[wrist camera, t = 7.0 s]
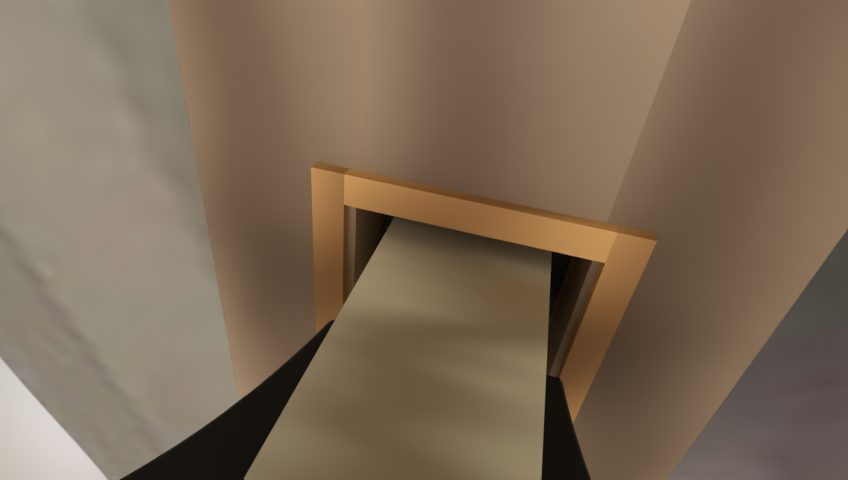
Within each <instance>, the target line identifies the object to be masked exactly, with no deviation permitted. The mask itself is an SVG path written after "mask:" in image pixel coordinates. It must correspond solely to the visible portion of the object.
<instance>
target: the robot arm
mask: <svg viewBox="0 0 848 480" xmlns="http://www.w3.org/2000/svg"><path fill="white" fill-rule="evenodd" d="M334 321H335V320H331V321H330V322H328V323H327V324H326V325H325V326H324V327H323V328H322V329H321V330H320V331H319V332H318V333H317V334H316V335H315V336H314V337H313V338H312V339H311V340H310V341H309V342H307V343H306V344H305V345H304V346H303V347H302V348H301V349H300V350H299V351H298V352H297V353H296V354H294V355H293V356H292V357H291V358H290V359H289V360H288V361H287V362H285V363H284V364H283V365H282V366H281V367H280V368H278V369H277V370H276V371H275V372H274V373H273V374H271V375H270V376H269V377H268V378H267V379H266V380H264V381H263V382H262V383H261V384H260V385H258V386H257V387H256V388H255V389H253V390H252V391H251V392H250V393H248V394H247V395H246V396H245V397H243V398H242V399H241V400H239V401H238V402H237V403H236V404H234V405H233V406H232V407H230V408H229V409H228V410H227V411H225V412H224V413H222V414H221V415H220V416H218V417H217V418H216V419H214V420H213V421H211V422H210V423H209V424H207V425H206V426H204V427H203V428H202V429H200V430H199V431H197V432H196V433H194V434H193V435H191V436H190V437H188V438H187V439H185V440H184V441H182V442H181V443H179V444H178V445H176V446H175V447H173V448H171V449H170V450H168V451H166V452H165V453H163V454H162V455H160V456H158V457H157V458H155V459H154V460H152V461H150V462H149V463H147V464H146V465H144V466H142V467H141V468H139V469H137V470H135V471H134V472H132V473H130V474H129V475H127V476H125V477H123V478H122V479H120V480H244V477H245V476H246V474H247V472H248V471H249V469H250V467H251V465H252V464H253V462H254V460H255V458H256V457H257V455H258V453H259V451H260V450H261V448H262V446H263V444H264V443H265V441H266V439H267V438H268V436H269V434H270V432H271V431H272V429H273V427H274V425H275V424H276V422H277V420H278V418H279V417H280V415H281V413H282V411H283V410H284V408H285V406H286V405H287V403H288V401H289V399H290V398H291V396H292V394H293V392H294V391H295V389H296V387H297V385H298V384H299V382H300V380H301V378H302V377H303V375H304V373H305V371H306V370H307V368H308V366H309V365H310V363H311V361H312V359H313V358H314V356H315V354H316V352H317V351H318V349H319V347H320V345H321V344H322V342H323V340H324V338H325V337H326V335H327V333H328V332H329V330H330V328H331V326H332V325H333V323H334ZM541 480H591V478H590V475H589V472H588V469H587V466H586V464H585V461H584V458H583V455H582V452H581V449H580V446H579V443H578V440H577V436H576V433H575V430H574V426H573V423H572V419H571V416H570V412H569V408H568V404H567V400H566V396H565V391H564V386H563V382H562V381H561V380H560V378H558V377H554V376H550V375H546V389H545V411H544V432H543V454H542V476H541Z"/></svg>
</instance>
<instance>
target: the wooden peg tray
mask: <svg viewBox="0 0 848 480" xmlns="http://www.w3.org/2000/svg"><path fill="white" fill-rule="evenodd" d="M168 2H169V8H170V13H171V19H172V25H173V31H174V36H175V42H176V48H177V53H178V59H179V65H180V70H181V76H182V82H183V87H184V93H185V99H186V104H187V110H188V116H189V121H190V127H191V133H192V138H193V144H194V150H195V155H196V161H197V167H198V173H199V178H200V184H201V190H202V195H203V201H204V207H205V212H206V218H207V224H208V229H209V235H210V241H211V246H212V252H213V258H214V263H215V269H216V275H217V280H218V286H219V292H220V297H221V303H222V309H223V315H224V320H225V326H226V332H227V337H228V343H229V349H230V354H231V360H232V366H233V371H234V377H235V383H236V388H237V394H238V395H240V396H244V397H245V396H246V395H247V394H248V393H250V392H251V391H252V390H253V389H255V388H256V387H257V386H258V385H260V384H261V383H262V382H263V381H264V380H266V379H267V378H268V377H269V376H270V375H271V374H273V373H274V372H275V371H276V370H277V369H278V368H280V367H281V366H282V365H283V364H284V363H285V362H287V361H288V360H289V359H290V358H291V357H292V356H293V355H294V354H296V353H297V352H298V351H299V350H300V349H301V348H302V347H303V346H304V345H305V344H306V343H307V342H309V341H310V340H311V339H312V338H313V337H314V336H315V335H316V334H317V333H318V332H319V331H320V330H321V329H322V328H323V327H324V326H325V325H326V324H327V323H328V322H330V321H331V320H335V319H336V318H337V316H338V314H339V312H340V311H341V309H342V307H343V305H344V304H345V302H346V300H347V299H348V297H349V295H350V293H351V292H352V290H353V288H354V286H355V285H356V283H357V281H358V279H359V278H360V276H361V274H362V272H363V271H364V269H365V267H366V266H367V264H368V262H369V260H370V259H371V257H372V255H373V253H374V252H375V250H376V248H377V246H378V245H379V243H380V241H381V239H382V235H383V221H384V214H386V215H391V216H395V217H400V218H404V219H409V220H413V221H418V222H422V223H427V224H431V225H436V226H440V227H445V228H449V229H454V230H458V231H463V232H467V233H472V234H476V235H481V236H485V237H490V238H494V239H498V240H503V241H507V242H512V243H516V244H521V245H525V246H530V247H534V248H539V249H543V250H548V251H552V252H557V253H561V254H566V255H570V256H571V259H570V262H569V265H568V268H567V271H566V274H565V276H564V279H563V282H562V285H561V288H560V291H559V294H558V297H557V299H556V302H555V305H554V308H553V311H552V314H551V317H550V320H549V323H548V345H547V367H546V375H550V376H554V377H558V378H560V380H561V381H562V382H563V386H564V391H565V396H566V400H567V404H568V408H569V412H570V416H571V419H572V423H573V426H574V430H575V433H576V436H577V440H578V443H579V446H580V449H581V452H582V455H583V458H584V461H585V464H586V466H587V469H588V472H589V475H590V478H591V480H667V479H668V477H669V476H670V475H671V473H672V472H673V470H674V469H675V468H676V466H677V465H678V463H679V462H680V461H681V459H682V458H683V457H684V455H685V454H686V452H687V451H688V450H689V448H690V447H691V445H692V444H693V443H694V441H695V440H696V439H697V437H698V436H699V434H700V433H701V432H702V430H703V429H704V427H705V426H706V425H707V423H708V422H709V421H710V419H711V418H712V416H713V415H714V414H715V412H716V411H717V409H718V408H719V407H720V405H721V404H722V402H723V401H724V400H725V398H726V397H727V396H728V394H729V393H730V391H731V390H732V389H733V387H734V386H735V384H736V383H737V382H738V380H739V379H740V378H741V376H742V375H743V373H744V372H745V371H746V369H747V368H748V366H749V365H750V364H751V362H752V361H753V359H754V358H755V357H756V355H757V354H758V353H759V351H760V350H761V348H762V347H763V346H764V344H765V343H766V341H767V340H768V339H769V337H770V336H771V335H772V333H773V332H774V330H775V329H776V328H777V326H778V325H779V323H780V322H781V321H782V319H783V318H784V316H785V315H786V314H787V312H788V311H789V310H790V308H791V307H792V305H793V304H794V303H795V301H796V300H797V298H798V297H799V296H800V294H801V293H802V292H803V290H804V289H805V287H806V286H807V285H808V283H809V282H810V280H811V279H812V278H813V276H814V275H815V273H816V272H817V271H818V269H819V268H820V267H821V265H822V264H823V262H824V261H825V260H826V258H827V257H828V255H829V254H830V253H831V251H832V250H833V249H834V247H835V246H836V244H837V243H838V242H839V240H840V239H841V237H842V236H843V235H844V233H845V232H846V230H847V229H848V0H168Z"/></svg>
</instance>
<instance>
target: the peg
mask: <svg viewBox="0 0 848 480" xmlns="http://www.w3.org/2000/svg"><path fill="white" fill-rule="evenodd" d="M551 258H552V251H548V250H543V249H539V248H534V247H530V246H525V245H521V244H516V243H512V242H507V241H503V240H498V239H494V238H490V237H485V236H481V235H476V234H472V233H467V232H463V231H458V230H454V229H449V228H445V227H440V226H436V225H431V224H427V223H422V222H418V221H413V220H409V219H404V218H400V217H394V219H393V220H392V222H391V224H390V226H389V227H388V229H387V231H386V233H385V234H384V236H383V238H382V239H381V241H380V243H379V245H378V246H377V248H376V250H375V252H374V253H373V255H372V257H371V259H370V260H369V262H368V264H367V266H366V267H365V269H364V271H363V272H362V274H361V276H360V278H359V279H358V281H357V283H356V285H355V286H354V288H353V290H352V292H351V293H350V295H349V297H348V299H347V300H346V302H345V304H344V305H343V307H342V309H341V311H340V312H339V314H338V316H337V318H336V319H335V321H334V323H333V325H332V326H331V328H330V330H329V332H328V333H327V335H326V337H325V338H324V340H323V342H322V344H321V345H320V347H319V349H318V351H317V352H316V354H315V356H314V358H313V359H312V361H311V363H310V365H309V366H308V368H307V370H306V371H305V373H304V375H303V377H302V378H301V380H300V382H299V384H298V385H297V387H296V389H295V391H294V392H293V394H292V396H291V398H290V399H289V401H288V403H287V405H286V406H285V408H284V410H283V411H282V413H281V415H280V417H279V418H278V420H277V422H276V424H275V425H274V427H273V429H272V431H271V432H270V434H269V436H268V438H267V439H266V441H265V443H264V444H263V446H262V448H261V450H260V451H259V453H258V455H257V457H256V458H255V460H254V462H253V464H252V465H251V467H250V469H249V471H248V472H247V474H246V476H245V477H244V480H541V476H542V454H543V432H544V411H545V389H546V367H547V345H548V323H549V302H550V280H551Z"/></svg>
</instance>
